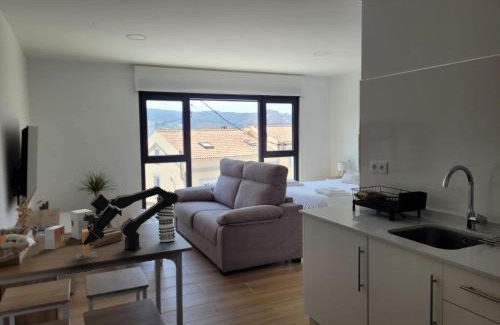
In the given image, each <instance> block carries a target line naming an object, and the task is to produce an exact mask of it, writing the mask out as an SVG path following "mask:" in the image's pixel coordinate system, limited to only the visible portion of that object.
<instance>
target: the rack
mask: <svg viewBox="0 0 500 325" xmlns="http://www.w3.org/2000/svg"><path fill="white" fill-rule="evenodd" d="M103 232H104V237H103V238H102V239H97V240H95V241H93V242H90V243H89V245H93V246H97V247H100V246H105V245H108V244H112V243H116V242H119V241H122V240H123V233H122V231H121V230H116V229H114V228H110V229H109V228H108V227H107V226H106V227H105V228H104V231H103Z"/></svg>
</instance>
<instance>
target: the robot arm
mask: <svg viewBox="0 0 500 325" xmlns="http://www.w3.org/2000/svg"><path fill="white" fill-rule="evenodd" d="M156 195H157V196H158V195H160V196H161V197H162V198H161V199H160V200H159V202H157V201H156V203H154V204H153V205H152V206H150V207H149V208H147V209H146V210H145V211H143V212H142V213H141V214H139V215H138V216H137V217H135V218H132V217H128V219H125V221H123V222H122V224H121V225H120V231H122V235H124V236H125V237H124V248H123V251H129V252H136V251H138V250H141V249H142V246H140V233H139V232H138V230H139V229H140V227H141V226H142V225H143V224H144V223H146V222H147V221H149V220H150V219H151V218H152V217H155V215H157V213H158V212H159V211H161V210H162V209H163V208H166V207H168V206H171V205H172V206H174V204H176V203H177V202H178V201H179V195H178V194H177V193H175V192H174V191H171V190H170V191H169V190H168V191H167V190H165V189H163V188H161V187H160V186H158V185H155V186H153V187H150V188H146V189H144V190H141V191H138V192H134V193H132V194H121V195H117V196H115V197H113V198H110V199H107V198H106V197H105V196H104V194H102V193H99V194H98V195H96V197H94V198H93V199H92V200H91V201H90V203H89V204H90V206H92V207H93V208H94V209H95V210H97V211H98V212H102V213H100V214H97V215H95V214H93V215H92V214H88V213H85V215H84V217H83V220H84V221H86V222H87V221H88V223H87V224H88V225H89V226H88V225H87V229H88V231H89V235H88V236H87V238H86V239H85V241H84V242H83V243H82V246H83V245H86V244H88V243H90V242H93V241H95V240H97V239H102V238H103V237H104V232H103V231H104V228H105V227H106V228H107V226H110V225H111V222H113V220H114V219H115V218H116V217H117V216H118V215H119V216H120V217H122V216H123V210H122V209H125V208H127V207H129V206H131V205H132V204H133V203H135V202H138V201H139V202H140V201H141V200H145V199H148V198H150V197H151V198H152V197H153V196H156ZM80 240H81V242H82V239H80Z"/></svg>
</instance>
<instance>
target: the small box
mask: <svg viewBox="0 0 500 325" xmlns="http://www.w3.org/2000/svg"><path fill="white" fill-rule="evenodd" d="M65 230H66V229H65V225H58V224H57V225H56V224H55V225H53V226H50V227H47V228H45V229H44V244H45V250H56V249H59V248H62V247H65V246H66V231H65Z"/></svg>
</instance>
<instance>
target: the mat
mask: <svg viewBox="0 0 500 325" xmlns="http://www.w3.org/2000/svg"><path fill="white" fill-rule="evenodd" d="M98 256H99V255H98V254H97V252H96V251H90V257H85V258H84V256H83V252H82V253H75V260H76V261H78V260H86V259H91V258H98Z"/></svg>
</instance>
